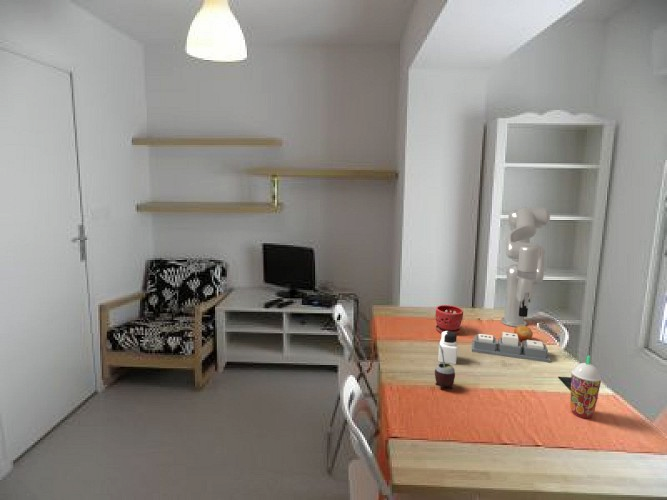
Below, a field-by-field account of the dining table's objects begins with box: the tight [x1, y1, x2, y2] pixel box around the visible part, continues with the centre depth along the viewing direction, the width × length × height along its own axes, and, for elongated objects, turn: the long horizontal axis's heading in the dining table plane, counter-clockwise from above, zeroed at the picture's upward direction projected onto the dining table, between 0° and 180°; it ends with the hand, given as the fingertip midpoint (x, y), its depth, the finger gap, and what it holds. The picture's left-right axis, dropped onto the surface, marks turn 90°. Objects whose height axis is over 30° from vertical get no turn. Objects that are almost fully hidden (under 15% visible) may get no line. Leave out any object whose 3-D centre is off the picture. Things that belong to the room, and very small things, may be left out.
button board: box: [471, 334, 551, 363], centre depth 183 cm, size 11×31×4 cm, turn 71°
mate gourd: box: [434, 341, 456, 391], centre depth 151 cm, size 8×8×15 cm
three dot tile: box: [478, 333, 494, 343], centre depth 186 cm, size 6×6×4 cm
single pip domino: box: [526, 339, 544, 350], centre depth 179 cm, size 6×6×4 cm
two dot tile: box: [501, 331, 518, 346], centre depth 182 cm, size 6×6×4 cm
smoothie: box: [569, 355, 602, 419], centre depth 134 cm, size 8×8×20 cm
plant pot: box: [435, 304, 464, 335], centre depth 206 cm, size 13×13×12 cm
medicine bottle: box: [437, 331, 459, 365], centre depth 173 cm, size 7×7×12 cm
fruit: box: [513, 325, 534, 343], centre depth 197 cm, size 8×8×8 cm
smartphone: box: [557, 376, 571, 392], centre depth 153 cm, size 7×1×15 cm
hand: (522, 316), depth 179 cm, fingers closed
